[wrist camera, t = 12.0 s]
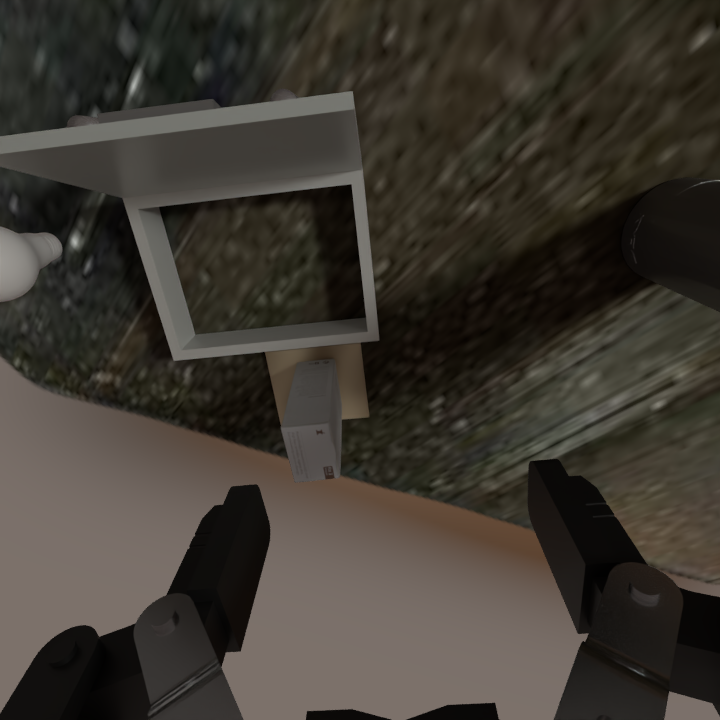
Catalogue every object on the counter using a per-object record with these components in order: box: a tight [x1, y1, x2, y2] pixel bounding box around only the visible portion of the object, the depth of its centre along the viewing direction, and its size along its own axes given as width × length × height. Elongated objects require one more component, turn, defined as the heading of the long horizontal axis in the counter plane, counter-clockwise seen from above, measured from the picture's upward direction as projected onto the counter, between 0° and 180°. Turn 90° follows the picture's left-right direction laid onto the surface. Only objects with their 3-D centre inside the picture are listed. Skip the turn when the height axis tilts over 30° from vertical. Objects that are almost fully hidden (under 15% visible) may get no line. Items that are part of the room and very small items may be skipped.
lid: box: [0, 91, 362, 198], centre depth 29 cm, size 20×14×1 cm
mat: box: [265, 342, 369, 425], centre depth 49 cm, size 10×9×1 cm
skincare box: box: [281, 359, 342, 482], centre depth 43 cm, size 6×4×12 cm
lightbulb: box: [0, 226, 62, 302], centre depth 38 cm, size 6×6×11 cm
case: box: [123, 168, 379, 361], centre depth 42 cm, size 20×15×4 cm
